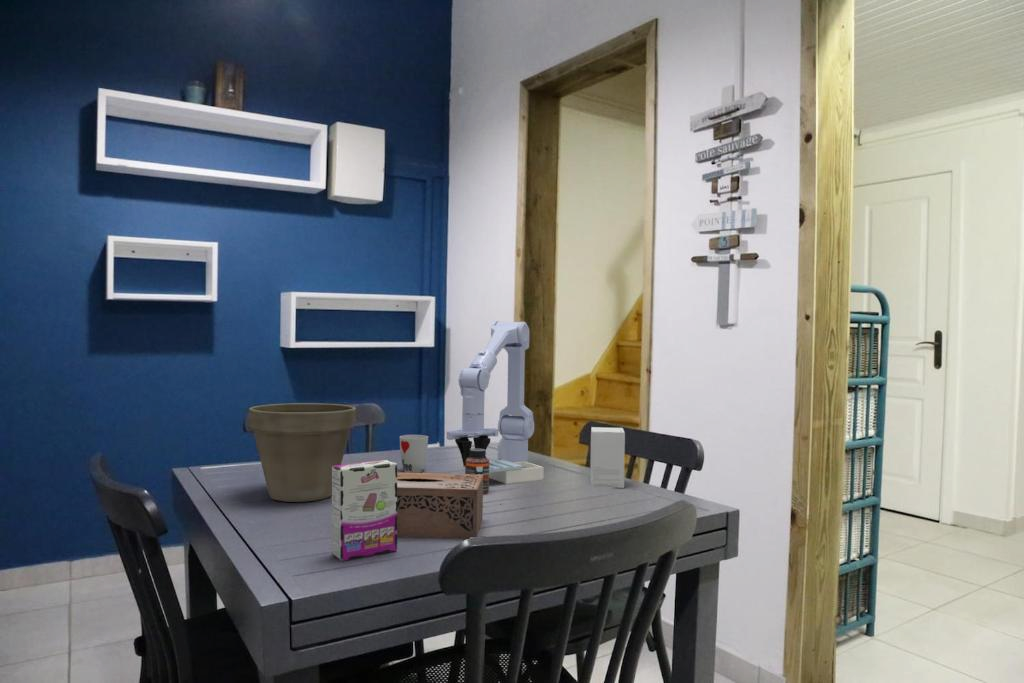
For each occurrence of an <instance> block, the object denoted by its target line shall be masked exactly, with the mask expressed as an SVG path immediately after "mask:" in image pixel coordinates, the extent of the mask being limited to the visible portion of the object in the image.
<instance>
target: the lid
mask: <svg viewBox="0 0 1024 683" xmlns="http://www.w3.org/2000/svg"><path fill="white" fill-rule="evenodd" d="M462 465H463V464H462ZM462 467H464V468H465V466H464V465H463V466H462ZM517 469H522V466H521V465H518V464H515V463H512V462H508V461H505V460H498V459H491V460H489V472H498V471H507V470H517Z"/></svg>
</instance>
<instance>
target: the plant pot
mask: <svg viewBox="0 0 1024 683" xmlns="http://www.w3.org/2000/svg"><path fill="white" fill-rule="evenodd" d="M356 411H357V408H356V407H355V406H353V405H348V404H339V403H323V402H322V403H320V402H317V403H316V402H293V403H292V402H291V403H270V404H262V405H256V406H252V407H251V406H250V408H248V421H249V422H248V423H249V429H251V431H253V433H254V438H255V444H256V448H257V452H258V456H259V459H260V463H261V464H260V465H261V468H262V472H263V476H264V479H265V480H264V481H265V484H266V488H267V491H268V492H267V493H268V495H269V497H270V498H271V500H272V499H273V500H275V501H279V502H284V503H285V502H288V503H304V502H314V501H315V502H316V501H319V500H324V498H325V499H328V498H329V497H332V466H336V465H342V462H343V459H344V455H345V452H346V448H347V445H348V441H349V437H350V433H351V429H353V428H354V427H355V424H356V415H357V414H356V413H357V412H356Z"/></svg>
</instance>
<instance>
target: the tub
mask: <svg viewBox="0 0 1024 683" xmlns="http://www.w3.org/2000/svg"><path fill="white" fill-rule="evenodd" d="M515 464H518V465H521V466H522V467H526V468H525V469H517V470H507V471H498V472H489V479H491V480H494V481H497V482H500V483H503V484H505V485H508V484H517V483H519V484H520V483H527V482H534V481H535V482H536V481H543V480H544V477H545V476H544V475H545V474H544V472H545V471H544V470H545V467H544V466H541V465H538V464H534V463H532V462H529V461H528V462H526V461H525V462H515Z"/></svg>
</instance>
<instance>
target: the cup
mask: <svg viewBox="0 0 1024 683" xmlns="http://www.w3.org/2000/svg"><path fill="white" fill-rule="evenodd" d="M428 444H429V436H428V435H423V434H404V435H400V436H399V451H400V452H399V453H400V458H401V459H400V460H401V464H402V468H403V471H404V472H403V473H406V472H407V473H423V470H424V467H425V464H426V459H427V453H428Z"/></svg>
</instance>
